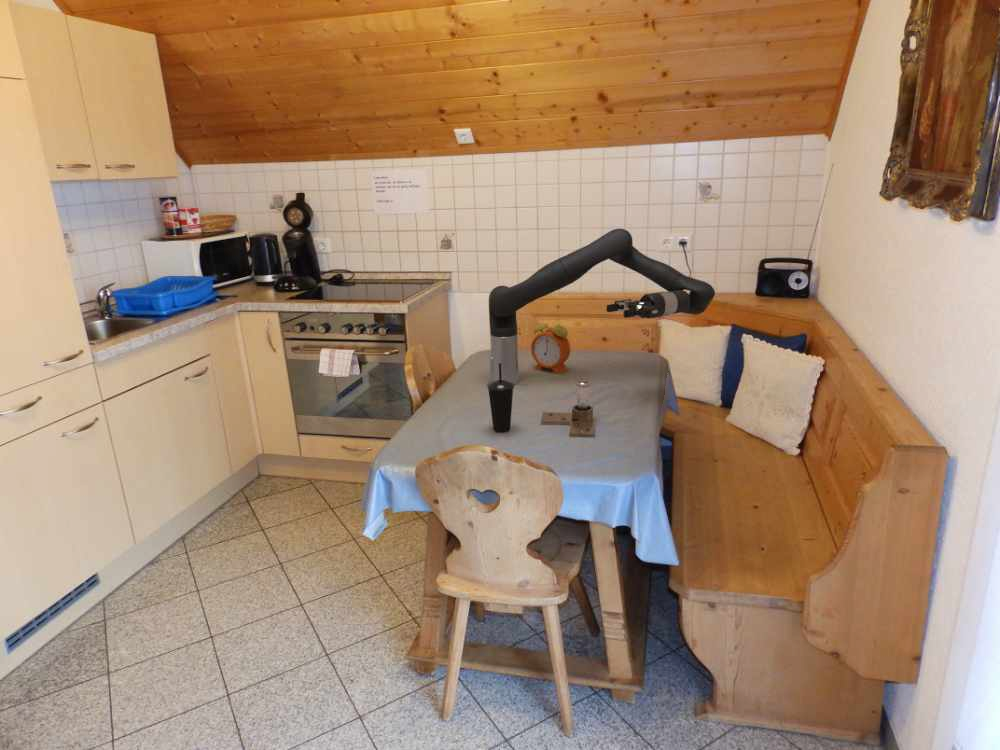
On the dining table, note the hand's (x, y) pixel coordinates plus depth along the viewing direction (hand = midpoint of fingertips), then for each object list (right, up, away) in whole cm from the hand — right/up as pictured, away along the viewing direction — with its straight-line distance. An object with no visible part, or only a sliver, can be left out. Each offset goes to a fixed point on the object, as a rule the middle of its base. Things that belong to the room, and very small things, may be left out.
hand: (615, 311), depth 201 cm
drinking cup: (-34, -35, -6) cm, 49 cm away
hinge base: (-15, -34, -5) cm, 37 cm away
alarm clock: (-16, -17, +45) cm, 51 cm away
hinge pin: (-10, -32, -1) cm, 34 cm away
